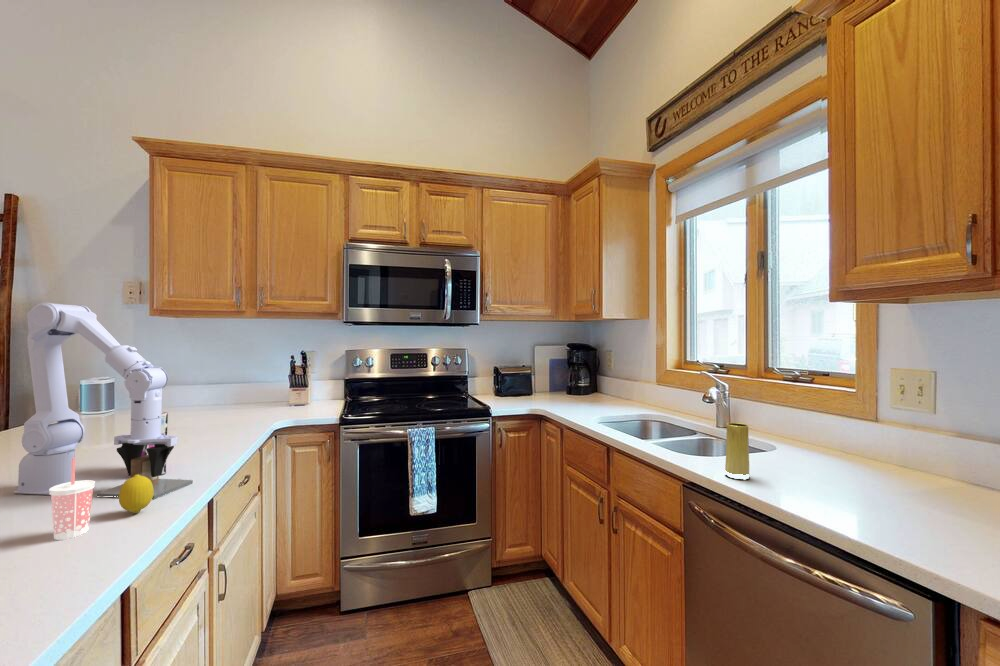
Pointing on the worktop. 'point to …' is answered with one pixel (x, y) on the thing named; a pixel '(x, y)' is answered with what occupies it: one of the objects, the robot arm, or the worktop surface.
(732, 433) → the vase
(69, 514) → the beverage cup
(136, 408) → the robot arm
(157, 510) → the worktop surface
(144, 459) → the walnut slab
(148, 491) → the lemon
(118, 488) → the grey flat rectangular plate
